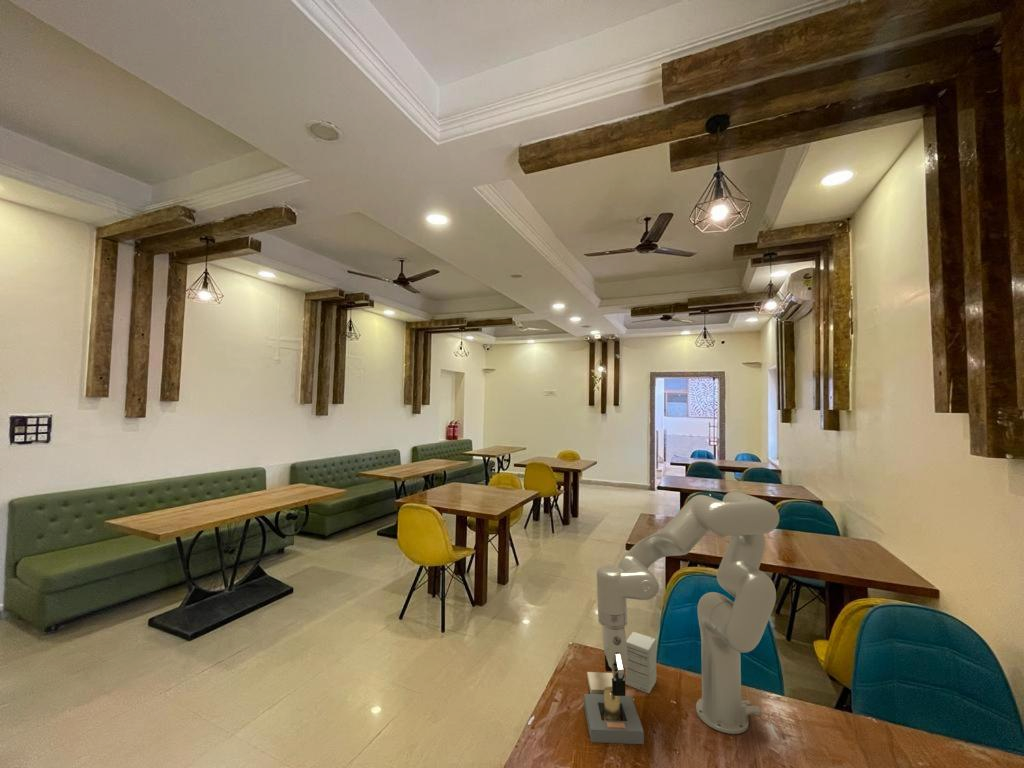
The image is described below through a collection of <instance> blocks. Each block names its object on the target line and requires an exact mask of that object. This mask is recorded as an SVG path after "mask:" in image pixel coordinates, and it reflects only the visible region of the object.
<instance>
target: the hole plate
mask: <svg viewBox="0 0 1024 768" xmlns="http://www.w3.org/2000/svg"><path fill="white" fill-rule="evenodd" d="M583 708H584V713H585V718H586V723H587V729H588V735H589V740H590V742H591V743H603V744H607V743H608V744H627V745H645V730H644V728H643V725H642V722H641V720H640V717H639V714H638V712H637V709H636V706H635V703H634V700H633V698H632V695H625V696H620V716H621V717H622V720H620V721H608V720H604V719H603V720H602V715H604V695H601V694H590V693H583Z"/></svg>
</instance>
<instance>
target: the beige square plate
mask: <svg viewBox="0 0 1024 768" xmlns="http://www.w3.org/2000/svg"><path fill="white" fill-rule="evenodd" d="M586 677H587V678H586V680H587V684H588V689H589V694H601V695H604V689H605V688H606V687H612V678H613V673H612V672H598V671H597V672H596V671H595V672H594V671H586Z"/></svg>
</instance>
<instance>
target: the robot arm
mask: <svg viewBox="0 0 1024 768" xmlns="http://www.w3.org/2000/svg"><path fill="white" fill-rule="evenodd" d="M777 509H778V508H776V506H775V505H773V504H772V503H771V502H769V501H767V500H765V499H761V498H758V497H756V496H752V495H751V494H750V495H749V494H747V493H744V492H740V491H730V492H728V493H726V494H725V495H724V496H723V498H722V500H720V499H717V498H715V497H712V496H709V495H704V494H698V495H697V494H696V495H695V496H693V497H691V498H690V499H689V500H688V501H687V502H686V503H685V504H684V505H683V506H682V507H681V509H680V510H679V511H678V512H677V513H676V514H675V515H674V516H673V517H672V518H671V519H670V520H669V521H668V523H667V524H666V525H665V526H664V527H663V528H662V529H660V530H658V531H656V532H654V533H652V534H650V535H648V536H646V537H644V538H642V539H640V540H639V541H638V542H636V543H635V544H634V545H633V546H632V547H631V548H630V549H629V550H628V552H627V553H626V554H625V555H623V557H622V558H621V559H620V561H619V563H618V565H612V564H611V565H610V564H609V565H603V566H600V567H599V568H598V569H597V571H596V587H597V588H596V589H597V592H596V593H597V619H598V620H597V621H598V623H599V624H600V625H601V627H602V628H601V629H602V645H603V650H604V651H603V652H604V668H605V671H606V672H611V673H613V678H612V693H613V696H625V695H626V694H627V693H626V676H625V671H624V669H625V668H628V655H627V643H626V640H627V636H626V626H627V625H628V606H627V603H628V602H627V599H631V600H638V601H648V600H651V599H653V598H655V597H656V595H658V593H659V590H660V589H659V588H660V586H659V582H658V579H657V577H656V576H655V575H654V574H653V572H651V571H650V570H649V568H650V567H651V566H652V565H653V564H655V562H657V561H658V560H660V559H663V558H665V557H673V556H676V557H678V556H685V555H688V554H689V553H690V552H692V550H693V549H694V548H695V546H696V545H697V544H699V542H700V541H701V539H703V538H704V537H705V536H706V535H707V533H708V532H710V533H712V534H715V535H719V536H725V537H727V536H728V537H730V538H729V542H728V544H727V547H726V550H725V552H724V555H723V557H722V559H721V562H720V564H719V567H718V569H717V572H716V580H717V584H719V586H720V588H721V589H723V590H724V591H725V592H727V593H728V594H729V595H731V596H732V597H733V598H734V601H733V600H731V599H730V598H729V597H727V596H726V595H724V594H721V592H720V593H719V592H715V591H710V592H706V593H705V594H702V596H701V597H700V599H699V600H698V603H697V609H696V610H697V611H696V612H697V620H698V626H699V630H700V640H701V641H700V642H701V643H700V644H701V646H700V649H701V655H700V656H701V698H699V699H698V700H697V701H696V704H695V711H696V714H697V716H698V717H699V719H701V721H702V722H703V723H705V724H706V725H707V726H708V727H710V728H712V729H713V730H716V731H718V732H720V733H725V734H729V735H737V734H742V733H744V732H745V731H747V730H748V728H749V718H748V717H749V716H750V715H758V716H759V715H760V716H761V715H762V710H761V708H760V706H759V705H751V700H746V699H743V700H742V675H741V674H742V671H741V665H742V663H741V657H742V656H741V653H743V654H744V653H749V652H752V651H753V650H754V649H756V647H757V646H758V645H759V643H760V641H761V639H762V637H763V635H764V633H765V630H766V628H767V625H768V622H769V620H770V618H771V614H772V612H773V610H774V607H775V604H776V600H777V590H776V587H775V583H774V582H773V580H772V579H771V578H770V577H769V575H768V574H766V573H764V572H763V571H761V570H760V566H761V563H762V560H763V556H764V554H765V550H766V539H765V535H766V534H768V533H771V532H773V531H774V530H775V529H777V527H778V525H779V523H780V512H779V511H778V510H777Z"/></svg>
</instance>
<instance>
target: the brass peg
mask: <svg viewBox="0 0 1024 768" xmlns="http://www.w3.org/2000/svg"><path fill="white" fill-rule="evenodd" d="M620 716H621V715H620V696H613V693H612V687H606V688H605V689H604V714H603V720H608V721H621V719H620V718H621V717H620Z"/></svg>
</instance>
